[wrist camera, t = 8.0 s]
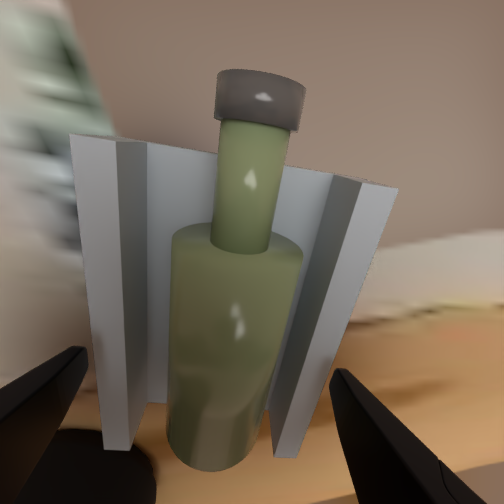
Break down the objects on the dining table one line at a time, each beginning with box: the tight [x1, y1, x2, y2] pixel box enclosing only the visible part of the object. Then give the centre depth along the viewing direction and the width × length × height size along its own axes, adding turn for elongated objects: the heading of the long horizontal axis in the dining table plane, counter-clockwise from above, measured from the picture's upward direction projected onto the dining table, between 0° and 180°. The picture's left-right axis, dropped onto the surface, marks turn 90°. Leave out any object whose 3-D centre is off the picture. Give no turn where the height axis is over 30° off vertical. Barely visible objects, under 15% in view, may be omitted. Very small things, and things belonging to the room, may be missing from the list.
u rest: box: [69, 133, 399, 458], centre depth 11 cm, size 14×10×3 cm
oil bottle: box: [166, 69, 306, 472], centre depth 9 cm, size 14×4×4 cm, turn 171°
